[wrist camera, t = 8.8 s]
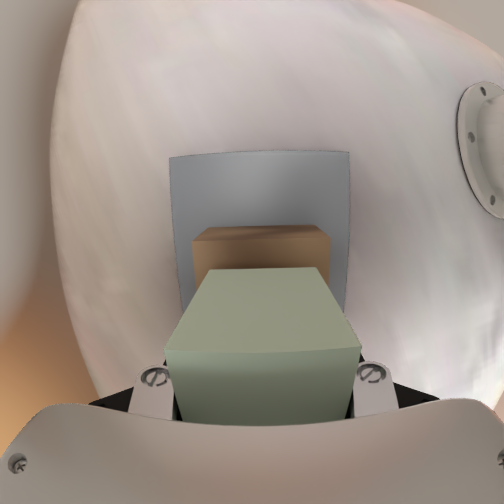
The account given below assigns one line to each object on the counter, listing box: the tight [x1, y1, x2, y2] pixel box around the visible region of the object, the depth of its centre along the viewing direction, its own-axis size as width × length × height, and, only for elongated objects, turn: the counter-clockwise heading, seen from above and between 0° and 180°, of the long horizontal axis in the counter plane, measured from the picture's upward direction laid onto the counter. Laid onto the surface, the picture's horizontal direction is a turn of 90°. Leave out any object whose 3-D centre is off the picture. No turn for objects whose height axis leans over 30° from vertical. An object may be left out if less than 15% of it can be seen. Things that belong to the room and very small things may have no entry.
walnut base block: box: [192, 225, 331, 290], centre depth 15 cm, size 6×8×4 cm
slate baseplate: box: [169, 150, 350, 314], centre depth 18 cm, size 11×17×1 cm, turn 2°
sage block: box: [163, 267, 362, 425], centre depth 9 cm, size 4×6×6 cm
